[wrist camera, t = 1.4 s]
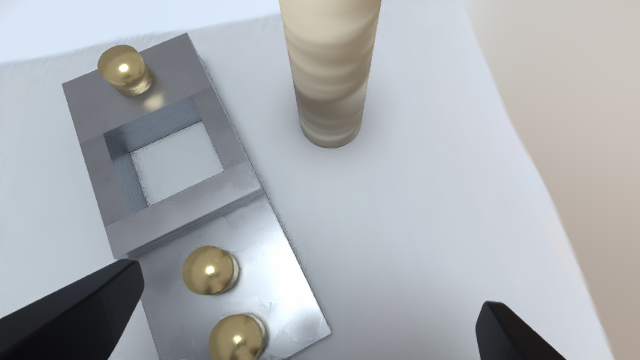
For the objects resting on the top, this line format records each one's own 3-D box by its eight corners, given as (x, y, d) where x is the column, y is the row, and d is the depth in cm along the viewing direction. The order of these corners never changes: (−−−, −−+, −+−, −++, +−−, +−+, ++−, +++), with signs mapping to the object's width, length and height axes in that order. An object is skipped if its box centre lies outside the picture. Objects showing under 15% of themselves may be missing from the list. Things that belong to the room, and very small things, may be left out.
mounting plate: (189, 409, 19) (145, 443, 15) (91, 107, 26) (40, 67, 21) (331, 330, 20) (331, 340, 16) (202, 60, 27) (175, 12, 23)
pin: (317, 158, 24) (304, 32, 13) (290, 109, 25) (257, -43, 14) (372, 131, 25) (406, -12, 13) (342, 85, 26) (351, -80, 15)
